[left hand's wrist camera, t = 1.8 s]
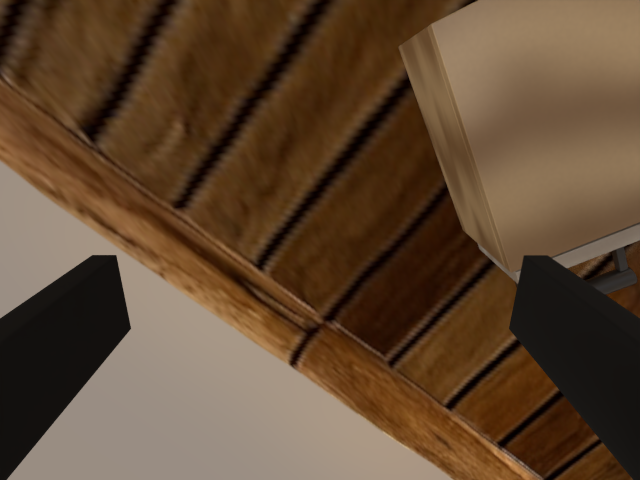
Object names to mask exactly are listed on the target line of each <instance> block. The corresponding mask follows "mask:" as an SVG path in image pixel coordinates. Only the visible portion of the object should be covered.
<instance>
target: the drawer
mask: <svg viewBox="0 0 640 480" xmlns="http://www.w3.org/2000/svg"><path fill="white" fill-rule="evenodd" d="M639 240H640V222H639V223H637V224H634V225H631V226H629V227H626V228H624V229H621V230H619V231H616V232H614V233H611V234H609V235H606V236H603V237H601V238H598V239H596V240H593V241H591V242H588V243H586V244H583V245H581V246H578V247H575V248H573V249H570V250H568V251H565V252H563V253H560V254H558V255H555V256H553V257H551V258H552V259H554V260H555V261H557V262H558V263H560V264H561V265H563V266H564V267H565V268H569V267H572V266H574V265H577V264H579V263H582V262H585V261H587V260H590V259H592V258H595V257H597V256H600V255H603V254H605V253H608V252H610V251H612V255H613V259H614V264H615V268H616V269H615V270H612V271H609V272H607V273H604V274H601V275H599V276H596V277H594V278H591V279H588V280H586V282H587V283H589V284H590V285H592V286H593V287H595V288H596V289H597V290H599V291H600V292H602V293H603V294H605V295H606V294H609V293H612V292H614V291H617V290H620V289H623V288H625V287H628V286H631V285H633V284H636V283H637V277H636V275H635V273H634V272H633V271H632V269H630V268H629V267H628V265H627V260H626V255H625V250H624V246H626V245H629V244H631V243H634V242H636V241H639ZM478 246H479V249H480V250H481V251H482V252H483V253H484V254H486V255H487V256H488V257H489V258H490V259H491V260H492V261H493V262H494V263H495V264H496V265H498V266H499V267H500V268H501V269H502V270H503V271H504V272H505V273H506V274H507V275H509V276H510V277H511V278H512V279H513V280H514V281H515V284H516V287H518V282H519V277H520V272H521V269H519V270H517V271H514V272H512V273H511V272H510V271H508V270H507V269H506V268H505V267H504V266H503V265H502V264H501V263H500V262H498V261H497V260H496V259H495V258H494V257H493V256H492V255H491V254H489V253H488V252H487V251H486V250H485V249H484V248H483V247H482V246H480V245H479V244H478Z"/></svg>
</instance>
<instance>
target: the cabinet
mask: <svg viewBox="0 0 640 480" xmlns="http://www.w3.org/2000/svg"><path fill="white" fill-rule="evenodd" d="M398 48H399V50H400V53H401V56H402V59H403V62H404V65H405V67H406V70H407V73H408V76H409V79H410V82H411V84H412V87H413V90H414V93H415V96H416V99H417V101H418V104H419V107H420V110H421V113H422V116H423V118H424V121H425V124H426V127H427V130H428V133H429V135H430V138H431V141H432V144H433V147H434V150H435V152H436V155H437V158H438V161H439V164H440V167H441V169H442V172H443V175H444V178H445V181H446V184H447V186H448V189H449V192H450V195H451V198H452V201H453V203H454V206H455V209H456V212H457V215H458V217H459V220H460V223H461V226H462V229H463V231H465V232H466V233H467V234H468V235H469V236H470V237H471V238H473V239H474V240H475V241H476V242H477V243H478V244H479V245H480V246H482V247H483V248H484V249H485V250H486V251H487V252H488V253H489V254H491V255H492V256H493V257H494V258H495V259H496V260H497V261H498V262H500V263H501V264H502V265H503V266H504V267H505V268H506V269H507V270H508V271H510V272H511V273H512V272H514V271H517V270H519V269H521V267H522V262H523V257H524V255H548V256H549V257H553V256H555V255H558V254H560V253H563V252H565V251H568V250H570V249H573V248H575V247H578V246H581V245H583V244H586V243H588V242H591V241H593V240H596V239H598V238H601V237H603V236H606V235H609V234H611V233H614V232H616V231H619V230H621V229H624V228H626V227H629V226H631V225H634V224H637V223H639V222H640V0H478V1H476V2H474V3H472V4H470V5H468V6H466V7H464V8H462V9H460V10H458V11H456V12H454V13H452V14H450V15H448V16H446V17H444V18H442V19H440V20H438V21H436V22H434V23H432V24H430V25H429V26H428V27H426V28H425V29H423V30H422V31H420V32H419V33H417V34H416V35H415V36H413V37H412V38H410V39H409V40H407V41H406V42H404V43H403V44H402V45H400V46H399V47H398Z"/></svg>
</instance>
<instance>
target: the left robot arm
mask: <svg viewBox="0 0 640 480" xmlns="http://www.w3.org/2000/svg"><path fill="white" fill-rule="evenodd" d="M130 329H131V326H130V322H129V317H128V312H127V307H126V302H125V297H124V292H123V287H122V282H121V277H120V272H119V267H118V262H117V257H116V255H92V256H91V257H89V258H88V259H86V260H85V261H83V262H82V263H80V264H79V265H77V266H76V267H75V268H73V269H72V270H70V271H69V272H67V273H66V274H64V275H63V276H61V277H60V278H59V279H57V280H56V281H54V282H53V283H51V284H50V285H48V286H47V287H45V288H44V289H43V290H41V291H40V292H38V293H37V294H35V295H34V296H32V297H31V298H29V299H28V300H27V301H25V302H24V303H22V304H21V305H19V306H18V307H16V308H15V309H13V310H12V311H10V312H9V313H8V314H6V315H5V316H3V317H2V318H0V480H7V479H8V477H9V476H10V475H11V474H12V472H13V471H14V470H15V469H16V468H17V466H18V465H19V464H20V463H21V462H22V460H23V459H24V458H25V457H26V455H27V454H28V453H29V452H30V451H31V449H32V448H33V447H34V446H35V445H36V443H37V442H38V441H39V440H40V438H41V437H42V436H43V435H44V434H45V432H46V431H47V430H48V429H49V427H50V426H51V425H52V424H53V423H54V421H55V420H56V419H57V418H58V417H59V415H60V414H61V413H62V412H63V411H64V409H65V408H66V407H67V406H68V404H69V403H70V402H71V401H72V400H73V398H74V397H75V396H76V395H77V393H78V392H79V391H80V390H81V389H82V387H83V386H84V385H85V384H86V383H87V381H88V380H89V379H90V378H91V376H92V375H93V374H94V373H95V372H96V370H97V369H98V368H99V367H100V366H101V364H102V363H103V362H104V361H105V360H106V358H107V357H108V356H109V355H110V353H111V352H112V351H113V350H114V349H115V347H116V346H117V345H118V344H119V343H120V341H121V340H122V339H123V338H124V336H125V335H126V334H127V333H128V332H129V330H130ZM509 329H510V330H511V332H512V333H513V334H514V335H515V336H516V338H517V339H518V340H519V341H520V343H521V344H522V345H523V346H524V347H525V349H526V350H527V351H528V352H529V353H530V355H531V356H532V357H533V358H534V360H535V361H536V362H537V363H538V364H539V366H540V367H541V368H542V369H543V370H544V372H545V373H546V374H547V375H548V377H549V378H550V379H551V380H552V381H553V383H554V384H555V385H556V386H557V387H558V389H559V390H560V391H561V392H562V394H563V395H564V396H565V397H566V398H567V400H568V401H569V402H570V403H571V404H572V406H573V407H574V408H575V409H576V411H577V412H578V413H579V414H580V415H581V417H582V418H583V419H584V420H585V421H586V423H587V424H588V425H589V426H590V428H591V429H592V430H593V431H594V432H595V434H596V435H597V436H598V437H599V438H600V440H601V441H602V442H603V443H604V445H605V446H606V447H607V448H608V449H609V451H610V452H611V453H612V454H613V455H614V457H615V458H616V459H617V460H618V462H619V463H620V464H621V465H622V466H623V468H624V469H625V470H626V471H627V472H628V474H629V475H630V476H631V477H632V479H633V480H640V318H638V317H637V316H635V315H634V314H632V313H631V312H630V311H628V310H627V309H625V308H624V307H622V306H621V305H619V304H618V303H616V302H615V301H614V300H612V299H611V298H609V297H608V296H606V295H605V294H603V293H602V292H600V291H599V290H597V289H596V288H595V287H593V286H592V285H590V284H589V283H587V282H586V281H584V280H583V279H581V278H580V277H579V276H577V275H576V274H574V273H573V272H571V271H570V270H568V269H567V268H565V267H564V266H563V265H561V264H560V263H558V262H557V261H555V260H554V259H552V258H551V257H549V256H548V255H524V257H523V262H522V267H521V272H520V277H519V282H518V287H517V292H516V297H515V302H514V307H513V312H512V317H511V322H510V326H509Z"/></svg>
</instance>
